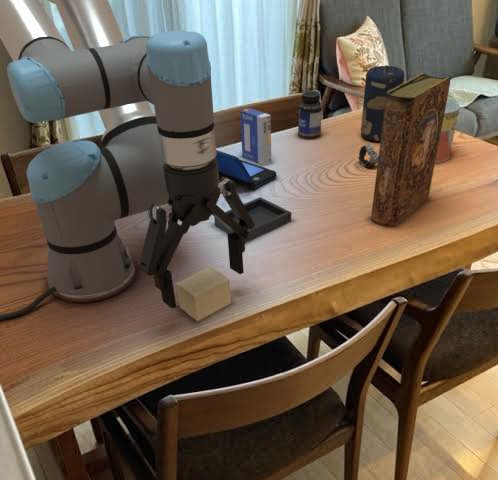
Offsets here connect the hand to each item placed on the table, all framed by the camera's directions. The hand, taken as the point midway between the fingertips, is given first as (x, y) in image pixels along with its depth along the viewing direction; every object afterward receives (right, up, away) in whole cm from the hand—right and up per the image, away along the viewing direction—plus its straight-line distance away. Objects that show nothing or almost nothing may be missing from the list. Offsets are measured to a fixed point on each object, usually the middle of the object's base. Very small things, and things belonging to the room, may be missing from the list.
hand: (204, 286), depth 87 cm
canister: (+42, +44, +58) cm, 84 cm away
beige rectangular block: (0, -3, +3) cm, 4 cm away
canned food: (+52, +36, +48) cm, 79 cm away
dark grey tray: (+8, +15, +24) cm, 29 cm away
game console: (+4, +28, +41) cm, 50 cm away
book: (+39, +18, +26) cm, 50 cm away
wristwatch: (+36, +32, +44) cm, 66 cm away
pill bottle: (+24, +45, +60) cm, 79 cm away
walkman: (+9, +35, +49) cm, 61 cm away
